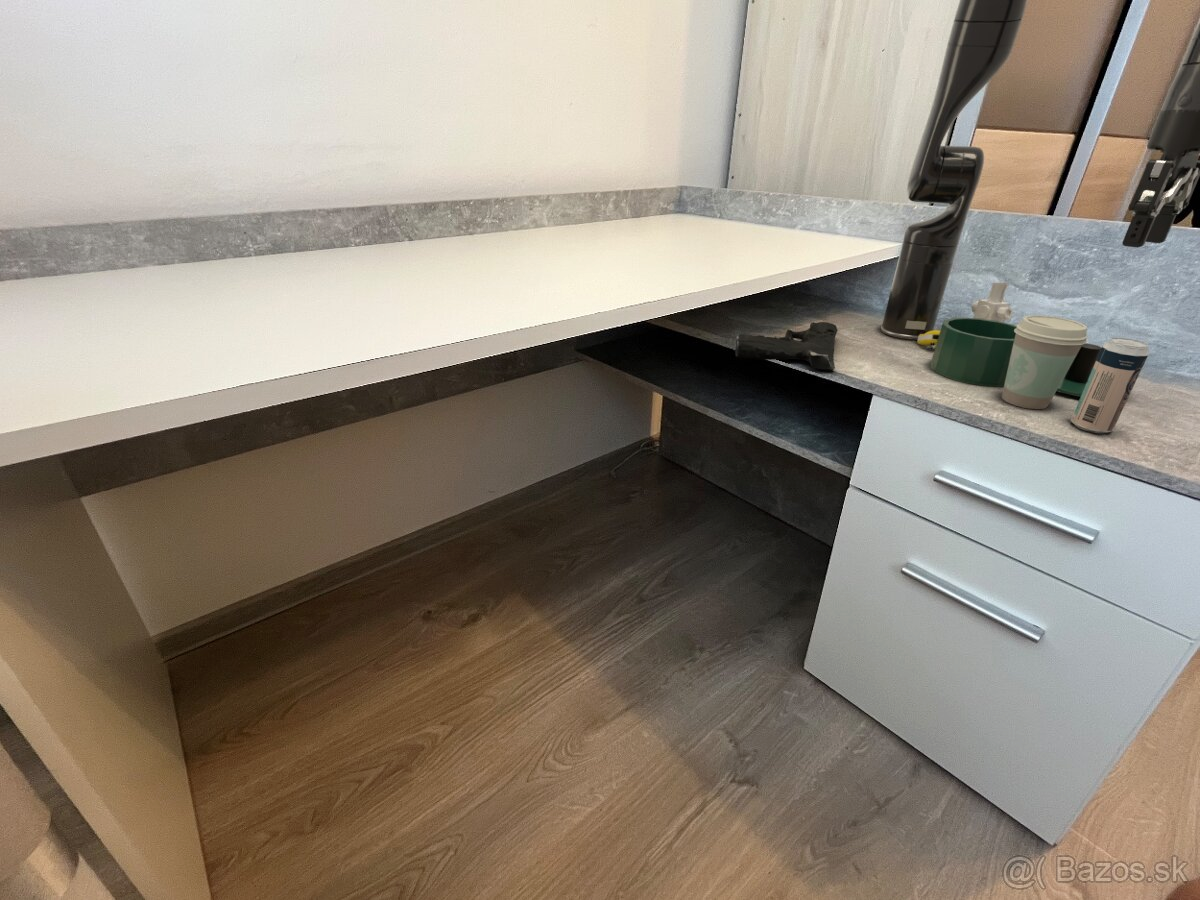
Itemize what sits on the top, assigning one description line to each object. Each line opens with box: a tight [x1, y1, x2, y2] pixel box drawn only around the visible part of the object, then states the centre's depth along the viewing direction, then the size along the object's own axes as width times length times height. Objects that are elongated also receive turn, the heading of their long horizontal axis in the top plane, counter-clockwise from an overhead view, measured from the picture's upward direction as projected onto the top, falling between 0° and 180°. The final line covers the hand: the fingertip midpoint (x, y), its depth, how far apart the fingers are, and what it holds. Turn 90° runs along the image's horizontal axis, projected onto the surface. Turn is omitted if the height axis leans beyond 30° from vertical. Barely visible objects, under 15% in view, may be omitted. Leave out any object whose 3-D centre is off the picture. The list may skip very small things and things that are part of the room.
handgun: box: [734, 321, 839, 371], centre depth 108 cm, size 21×17×4 cm
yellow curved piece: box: [916, 329, 941, 350], centre depth 110 cm, size 10×6×4 cm, turn 71°
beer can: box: [1070, 337, 1151, 434], centre depth 79 cm, size 5×5×12 cm
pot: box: [930, 317, 1017, 387], centre depth 98 cm, size 13×13×8 cm
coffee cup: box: [1001, 314, 1088, 410], centre depth 86 cm, size 8×8×12 cm
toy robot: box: [970, 282, 1014, 323], centre depth 110 cm, size 4×8×12 cm, turn 17°
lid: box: [1056, 342, 1102, 397], centre depth 94 cm, size 14×14×7 cm
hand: (1143, 244), depth 82 cm, fingers open, 8 cm apart
